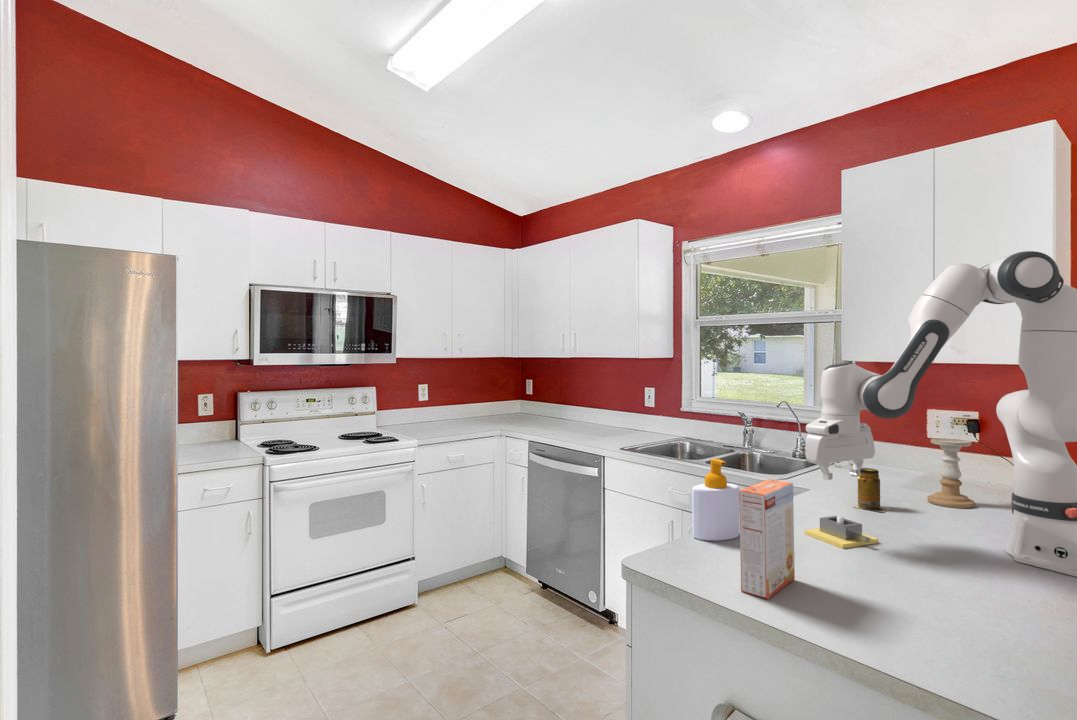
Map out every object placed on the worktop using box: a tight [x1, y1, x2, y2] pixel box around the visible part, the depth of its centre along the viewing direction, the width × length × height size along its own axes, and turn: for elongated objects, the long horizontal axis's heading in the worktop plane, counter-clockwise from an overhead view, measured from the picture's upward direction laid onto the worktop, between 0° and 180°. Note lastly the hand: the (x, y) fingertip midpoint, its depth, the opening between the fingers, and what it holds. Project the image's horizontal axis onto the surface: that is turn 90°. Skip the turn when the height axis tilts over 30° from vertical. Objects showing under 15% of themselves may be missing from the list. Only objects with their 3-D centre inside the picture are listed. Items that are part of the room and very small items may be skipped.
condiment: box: [852, 467, 892, 513], centre depth 172 cm, size 7×8×12 cm
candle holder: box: [926, 437, 976, 509], centre depth 176 cm, size 12×12×20 cm
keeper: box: [803, 515, 879, 549], centre depth 144 cm, size 12×12×6 cm
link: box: [819, 515, 870, 542], centre depth 142 cm, size 12×6×4 cm, turn 20°
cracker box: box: [739, 478, 796, 600], centre depth 115 cm, size 14×6×21 cm, turn 134°
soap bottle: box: [691, 458, 740, 542], centre depth 146 cm, size 13×8×20 cm, turn 105°
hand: (841, 478), depth 144 cm, fingers open, 8 cm apart
